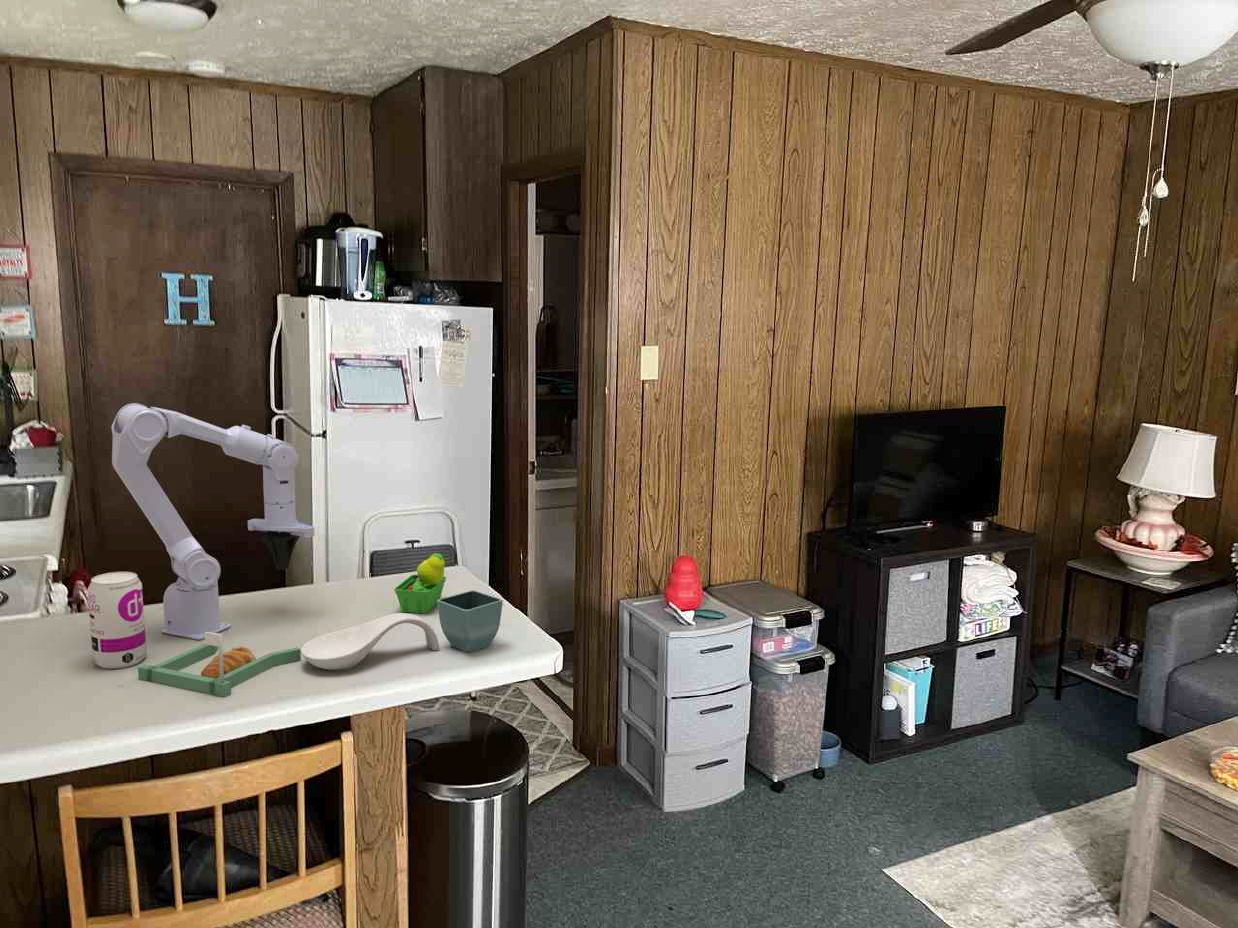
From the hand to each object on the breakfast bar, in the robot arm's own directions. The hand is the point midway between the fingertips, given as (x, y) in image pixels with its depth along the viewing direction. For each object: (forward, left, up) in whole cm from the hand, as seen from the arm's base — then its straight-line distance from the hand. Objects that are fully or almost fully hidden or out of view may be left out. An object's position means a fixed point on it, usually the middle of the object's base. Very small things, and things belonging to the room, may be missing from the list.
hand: (282, 568), depth 193 cm
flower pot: (+42, 0, -10) cm, 43 cm away
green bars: (+9, -27, -9) cm, 30 cm away
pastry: (+12, -28, -10) cm, 32 cm away
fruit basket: (+22, +16, -10) cm, 29 cm away
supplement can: (-9, -31, -10) cm, 34 cm away
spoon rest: (+29, -12, -10) cm, 33 cm away
